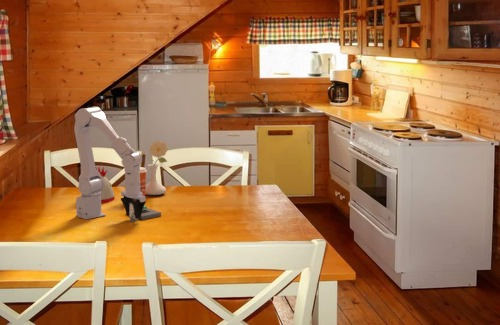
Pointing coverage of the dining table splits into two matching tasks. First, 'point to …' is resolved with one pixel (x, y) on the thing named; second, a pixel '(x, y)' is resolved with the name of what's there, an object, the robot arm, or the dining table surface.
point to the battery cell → (132, 213)
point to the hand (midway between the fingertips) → (133, 216)
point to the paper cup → (142, 180)
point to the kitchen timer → (106, 188)
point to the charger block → (149, 213)
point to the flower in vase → (153, 186)
